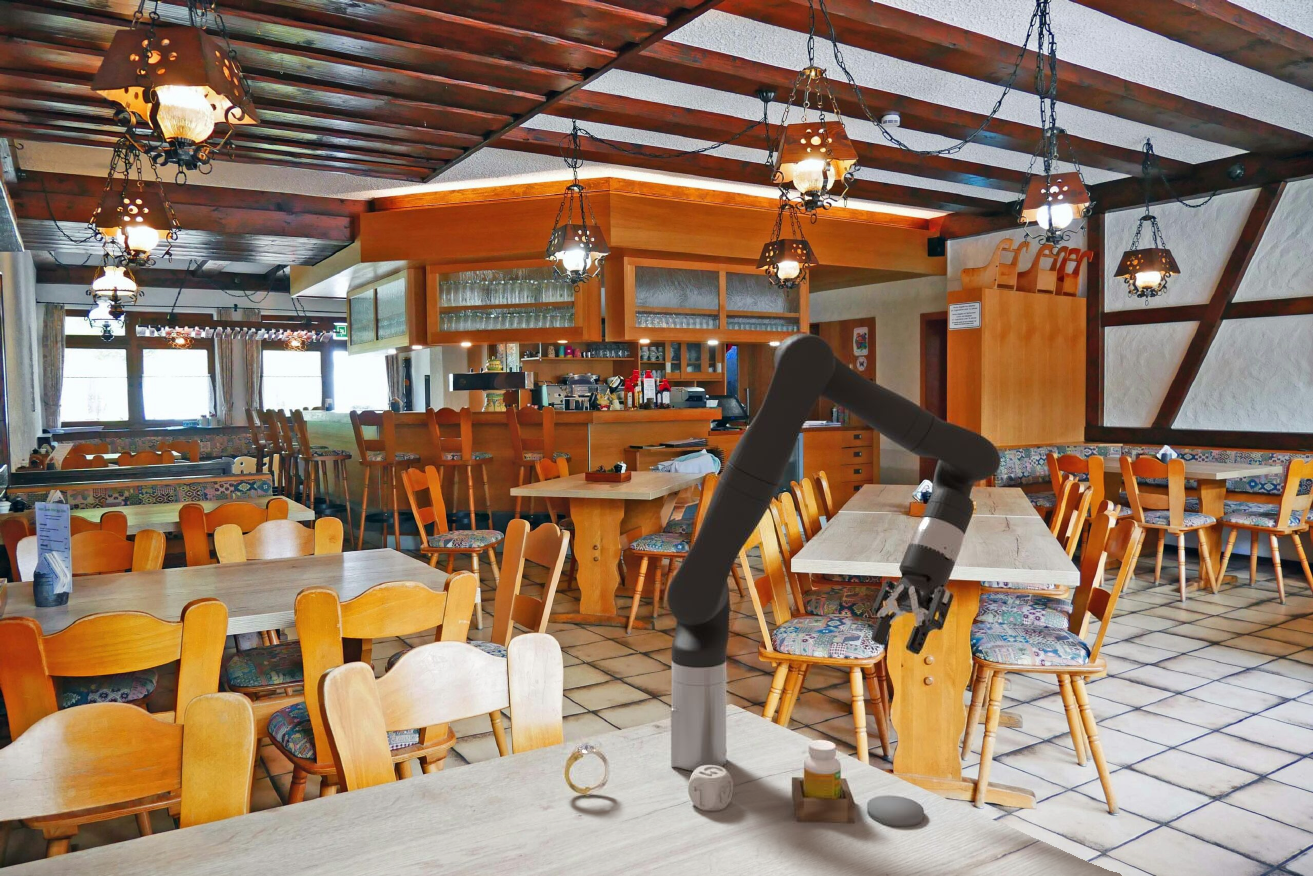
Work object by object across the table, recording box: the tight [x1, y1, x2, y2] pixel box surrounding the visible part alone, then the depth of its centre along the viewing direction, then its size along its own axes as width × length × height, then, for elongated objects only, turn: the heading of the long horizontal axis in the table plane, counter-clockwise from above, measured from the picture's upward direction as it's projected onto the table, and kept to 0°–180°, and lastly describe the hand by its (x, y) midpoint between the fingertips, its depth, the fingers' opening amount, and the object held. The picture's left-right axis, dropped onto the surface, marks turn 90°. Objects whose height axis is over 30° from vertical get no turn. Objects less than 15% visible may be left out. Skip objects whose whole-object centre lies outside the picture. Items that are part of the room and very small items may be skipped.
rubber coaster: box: [866, 794, 925, 828], centre depth 129 cm, size 8×8×1 cm
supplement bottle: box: [803, 739, 842, 799], centre depth 131 cm, size 5×5×10 cm
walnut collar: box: [791, 776, 856, 824], centre depth 131 cm, size 8×8×3 cm
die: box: [687, 765, 734, 812], centre depth 133 cm, size 5×5×5 cm
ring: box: [564, 741, 611, 797], centre depth 136 cm, size 7×3×8 cm, turn 93°
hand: (893, 647), depth 135 cm, fingers open, 8 cm apart
